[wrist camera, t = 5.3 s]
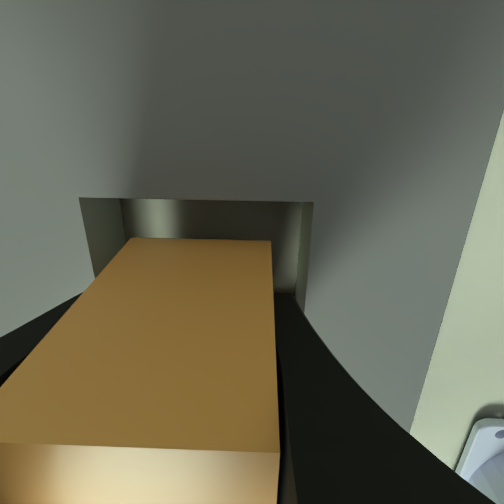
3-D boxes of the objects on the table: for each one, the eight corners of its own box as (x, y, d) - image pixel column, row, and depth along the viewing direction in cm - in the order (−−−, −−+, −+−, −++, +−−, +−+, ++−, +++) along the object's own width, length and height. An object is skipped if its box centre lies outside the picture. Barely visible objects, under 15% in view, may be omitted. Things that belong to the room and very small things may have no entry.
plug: (270, 232, 11) (280, 452, 4) (266, 339, 12) (269, 610, 6) (138, 229, 11) (-47, 440, 4) (152, 335, 12) (35, 598, 6)
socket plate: (489, -67, 8) (623, -158, 5) (372, 441, 16) (398, 527, 13) (-80, -68, 9) (-273, -155, 6) (69, 430, 16) (23, 512, 13)
